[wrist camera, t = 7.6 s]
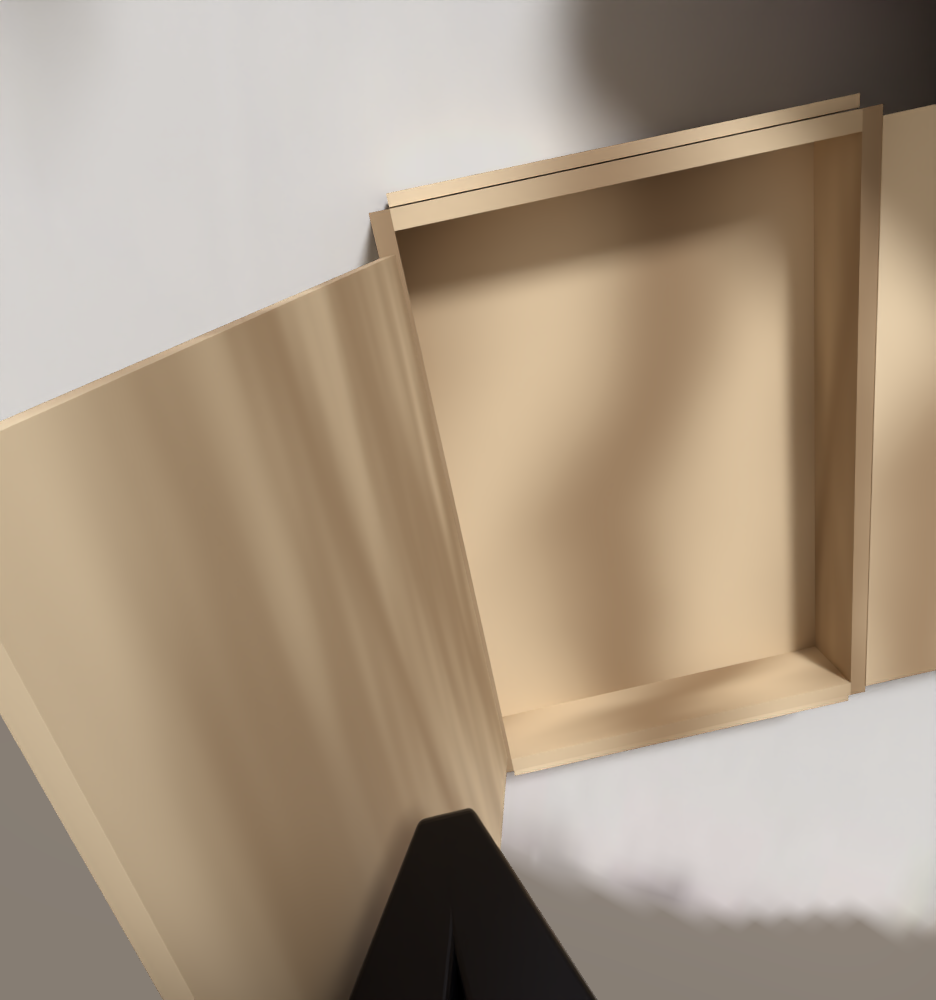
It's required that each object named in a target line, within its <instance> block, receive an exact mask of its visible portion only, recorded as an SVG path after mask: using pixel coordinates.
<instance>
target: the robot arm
mask: <svg viewBox="0 0 936 1000" xmlns="http://www.w3.org/2000/svg"><path fill="white" fill-rule="evenodd" d="M348 1000H597V998H596V997H595V995H594V994H593V992H592V991H591V989H590V987H589V986H588V985H587V983H586V981H585V980H584V978H583V977H582V975H581V974H580V972H579V971H578V969H577V968H576V966H575V964H574V963H573V962H572V960H571V958H570V957H569V955H568V954H567V952H566V951H565V949H564V948H563V946H562V944H561V943H560V941H559V940H558V938H557V937H556V935H555V934H554V932H553V931H552V929H551V927H550V926H549V924H548V923H547V921H546V920H545V918H544V917H543V915H542V914H541V912H540V910H539V909H538V907H537V906H536V905H535V903H534V901H533V900H532V898H531V897H530V895H529V893H528V892H527V890H526V889H525V887H524V886H523V884H522V883H521V881H520V880H519V878H518V876H517V875H516V873H515V872H514V870H513V869H512V867H511V866H510V864H509V863H508V861H507V860H506V858H505V856H504V855H503V853H502V852H501V850H500V849H499V847H498V846H497V844H496V843H495V841H494V839H493V838H492V836H491V835H490V833H489V832H488V830H487V829H486V827H485V826H484V824H483V822H482V821H481V819H480V818H479V816H478V815H477V813H476V812H475V811H474V810H473V809H471V808H466V809H462V810H457V811H453V812H449V813H445V814H441V815H436V816H432V817H428V818H424V819H422V820H421V821H420V822H419V823H418V825H417V827H416V829H415V832H414V834H413V837H412V839H411V842H410V844H409V847H408V849H407V852H406V855H405V857H404V860H403V862H402V865H401V867H400V870H399V872H398V875H397V877H396V880H395V882H394V885H393V888H392V890H391V893H390V895H389V898H388V900H387V903H386V905H385V908H384V910H383V913H382V915H381V918H380V921H379V923H378V926H377V928H376V931H375V933H374V936H373V938H372V941H371V943H370V946H369V948H368V951H367V954H366V956H365V959H364V961H363V964H362V966H361V969H360V971H359V974H358V976H357V979H356V981H355V984H354V987H353V989H352V992H351V994H350V997H349V999H348Z"/></svg>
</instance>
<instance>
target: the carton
mask: <svg viewBox="0 0 936 1000" xmlns="http://www.w3.org/2000/svg"><path fill="white" fill-rule="evenodd" d="M858 107H860V93H858V94H853V95H848V96H843V97H839V98H834V99H829V100H825V101H820V102H815V103H811V104H806V105H801V106H796V107H792V108H787V109H782V110H778V111H773V112H768V113H763V114H759V115H754V116H749V117H745V118H740V119H735V120H730V121H726V122H721V123H716V124H712V125H707V126H702V127H698V128H693V129H688V130H683V131H679V132H674V133H669V134H665V135H660V136H655V137H650V138H646V139H641V140H636V141H632V142H627V143H622V144H617V145H613V146H608V147H603V148H599V149H594V150H589V151H585V152H580V153H575V154H570V155H566V156H561V157H556V158H552V159H547V160H542V161H537V162H533V163H528V164H523V165H519V166H514V167H509V168H504V169H500V170H495V171H490V172H486V173H481V174H476V175H472V176H467V177H462V178H457V179H453V180H448V181H443V182H439V183H434V184H429V185H424V186H420V187H415V188H410V189H406V190H401V191H396V192H391V193H387V194H386V195H387V199H388V204H389V208H391V209H386V210H382V211H377V212H372V213H369V216H370V221H371V225H372V229H373V234H374V238H375V242H376V247H377V251H378V255H379V259H380V258H382V257H386V256H391V255H395V256H396V261H397V265H398V270H399V274H400V279H401V283H402V288H403V292H404V297H405V301H406V305H407V310H408V314H409V319H410V323H411V328H412V332H413V337H414V341H415V346H416V350H417V355H418V359H419V364H420V368H421V372H422V377H423V381H424V386H425V390H426V395H427V399H428V404H429V408H430V413H431V417H432V422H433V426H434V431H435V435H436V439H437V444H438V448H439V453H440V457H441V462H442V466H443V471H444V475H445V480H446V484H447V489H448V493H449V498H450V502H451V506H452V511H453V515H454V520H455V524H456V529H457V533H458V538H459V542H460V547H461V551H462V556H463V560H464V565H465V569H466V574H467V578H468V582H469V587H470V591H471V596H472V600H473V605H474V609H475V614H476V618H477V623H478V627H479V632H480V636H481V641H482V645H483V649H484V654H485V658H486V663H487V667H488V672H489V676H490V681H491V685H492V690H493V694H494V699H495V703H496V708H497V712H498V716H499V721H500V725H501V730H502V734H503V739H504V743H505V748H506V752H507V757H508V759H507V771H506V773H507V772H511V771H514V773H515V776H516V775H521V774H525V773H529V772H534V771H538V770H543V769H547V768H552V767H556V766H560V765H565V764H570V763H574V762H578V761H583V760H587V759H592V758H596V757H601V756H605V755H609V754H614V753H618V752H623V751H627V750H632V749H636V748H640V747H645V746H649V745H654V744H658V743H663V742H667V741H671V740H676V739H680V738H685V737H689V736H693V735H698V734H702V733H706V732H711V731H715V730H720V729H724V728H729V727H733V726H737V725H742V724H746V723H751V722H755V721H759V720H764V719H768V718H773V717H777V716H782V715H786V714H790V713H795V712H799V711H804V710H808V709H813V708H817V707H821V706H826V705H830V704H835V703H839V702H844V701H848V695H852V694H856V693H861V692H865V686H868V685H872V684H877V683H881V682H885V681H890V680H894V679H899V678H903V677H908V676H912V675H916V674H921V673H925V672H930V671H934V670H936V104H934V105H930V106H925V107H920V108H916V109H911V110H906V111H902V112H897V113H892V114H887V115H883V104H880V105H875V106H870V107H866V108H861V109H856V110H852V111H847V112H842V113H838V114H833V113H837V112H841V111H846V110H850V109H854V108H858ZM829 114H833V115H829ZM825 115H828V116H825ZM820 116H823V117H820ZM816 117H819V118H816ZM812 118H814V119H812ZM808 119H809V120H808ZM803 120H805V121H803ZM798 121H800V122H798ZM794 122H795V123H794ZM789 123H791V124H789ZM784 124H786V125H784ZM779 125H781V126H779ZM775 126H776V127H775ZM770 127H772V128H770ZM765 128H767V129H765ZM761 129H762V130H761ZM756 130H758V131H756ZM751 131H753V132H751ZM747 132H748V133H747ZM742 133H744V134H742ZM737 134H739V135H737ZM732 135H734V136H732ZM728 136H729V137H728ZM723 137H725V138H723ZM718 138H720V139H718ZM714 139H715V140H714ZM709 140H711V141H709ZM704 141H706V142H704ZM700 142H701V143H700ZM695 143H697V144H695ZM690 144H692V145H690ZM685 145H687V146H685ZM681 146H682V147H681ZM676 147H678V148H676ZM671 148H673V149H671ZM667 149H668V150H667ZM662 150H664V151H662ZM657 151H659V152H657ZM653 152H654V153H653ZM648 153H650V154H648ZM643 154H645V155H643ZM638 155H640V156H638ZM634 156H635V157H634ZM629 157H631V158H629ZM624 158H626V159H624ZM620 159H621V160H620ZM615 160H617V161H615ZM610 161H612V162H610ZM606 162H607V163H606ZM601 163H603V164H601ZM596 164H598V165H596ZM591 165H593V166H591ZM587 166H588V167H587ZM582 167H584V168H582ZM577 168H579V169H577ZM573 169H574V170H573ZM568 170H570V171H568ZM563 171H565V172H563ZM559 172H560V173H559ZM554 173H556V174H554ZM549 174H551V175H549ZM544 175H546V176H544ZM540 176H541V177H540ZM535 177H537V178H535ZM530 178H532V179H530ZM526 179H527V180H526ZM521 180H523V181H521ZM516 181H518V182H516ZM512 182H513V183H512ZM507 183H509V184H507ZM502 184H504V185H502ZM497 185H499V186H497ZM493 186H494V187H493ZM488 187H490V188H488ZM483 188H485V189H483ZM479 189H480V190H479ZM474 190H476V191H474ZM469 191H471V192H469ZM464 192H466V193H464ZM460 193H462V194H460ZM455 194H457V195H455ZM450 195H452V196H450ZM446 196H447V197H446ZM441 197H443V198H441ZM436 198H438V199H436ZM432 199H433V200H432ZM427 200H429V201H427ZM422 201H424V202H422ZM417 202H419V203H417ZM413 203H415V204H413ZM408 204H410V205H408ZM403 205H405V206H403ZM399 206H400V207H399ZM394 207H396V208H394Z"/></svg>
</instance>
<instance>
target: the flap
mask: <svg viewBox="0 0 936 1000" xmlns="http://www.w3.org/2000/svg"><path fill="white" fill-rule="evenodd" d="M0 714H1V716H2V718H3V720H4V721H5V723H6V725H7V727H8V728H9V730H10V732H11V734H12V735H13V737H14V739H15V741H16V742H17V744H18V746H19V747H20V749H21V751H22V753H23V755H24V757H25V758H26V760H27V762H28V763H29V765H30V767H31V769H32V771H33V772H34V774H35V776H36V778H37V779H38V781H39V783H40V785H41V786H42V788H43V790H44V791H45V793H46V795H47V797H48V799H49V800H50V802H51V804H52V806H53V807H54V809H55V811H56V812H57V814H58V816H59V818H60V819H61V822H62V823H63V825H64V827H65V829H66V830H67V832H68V834H69V836H70V837H71V839H72V841H73V843H74V844H75V846H76V848H77V850H78V851H79V853H80V855H81V857H82V858H83V860H84V862H85V864H86V865H87V867H88V869H89V871H90V872H91V874H92V876H93V878H94V879H95V881H96V883H97V884H98V886H99V888H100V890H101V892H102V893H103V895H104V897H105V899H106V900H107V902H108V904H109V906H110V907H111V909H112V911H113V913H114V914H115V916H116V918H117V919H118V921H119V923H120V925H121V927H122V929H123V930H124V932H125V934H126V936H127V937H128V939H129V941H130V943H131V944H132V946H133V948H134V950H135V951H136V953H137V955H138V957H139V958H140V960H141V962H142V964H143V965H144V967H145V969H146V971H147V972H148V974H149V976H150V978H151V979H152V981H153V983H154V985H155V986H156V988H157V990H158V992H159V993H160V995H161V997H162V999H163V1000H348V999H349V997H350V994H351V992H352V989H353V987H354V984H355V981H356V979H357V976H358V974H359V971H360V969H361V966H362V964H363V961H364V959H365V956H366V954H367V951H368V948H369V946H370V943H371V941H372V938H373V936H374V933H375V931H376V928H377V926H378V923H379V921H380V918H381V915H382V913H383V910H384V908H385V905H386V903H387V900H388V898H389V895H390V893H391V890H392V888H393V885H394V882H395V880H396V877H397V875H398V872H399V870H400V867H401V865H402V862H403V860H404V857H405V855H406V852H407V849H408V847H409V844H410V842H411V839H412V837H413V834H414V832H415V829H416V827H417V825H418V823H419V822H420V821H421V820H422V819H424V818H428V817H432V816H436V815H441V814H445V813H449V812H453V811H457V810H462V809H466V808H471V809H473V810H474V811H475V812H476V813H477V815H478V816H479V818H480V819H481V821H482V822H483V824H484V826H485V827H486V829H487V830H488V832H489V833H490V835H491V836H492V838H493V839H494V841H495V843H496V844H497V846H498V847H499V849H500V848H501V835H502V822H503V809H504V797H505V784H506V771H507V759H508V757H507V752H506V748H505V743H504V739H503V734H502V730H501V725H500V721H499V716H498V712H497V708H496V703H495V699H494V694H493V690H492V685H491V681H490V676H489V672H488V667H487V663H486V658H485V654H484V649H483V645H482V641H481V636H480V632H479V627H478V623H477V618H476V614H475V609H474V605H473V600H472V596H471V591H470V587H469V582H468V578H467V574H466V569H465V565H464V560H463V556H462V551H461V547H460V542H459V538H458V533H457V529H456V524H455V520H454V515H453V511H452V506H451V502H450V498H449V493H448V489H447V484H446V480H445V475H444V471H443V466H442V462H441V457H440V453H439V448H438V444H437V439H436V435H435V431H434V426H433V422H432V417H431V413H430V408H429V404H428V399H427V395H426V390H425V386H424V381H423V377H422V372H421V368H420V364H419V359H418V355H417V350H416V346H415V341H414V337H413V332H412V328H411V323H410V319H409V314H408V310H407V305H406V301H405V297H404V292H403V288H402V283H401V279H400V274H399V270H398V265H397V261H396V256H395V255H391V256H386V257H382V258H380V259H377V260H375V261H373V262H371V263H368V264H366V265H364V266H361V267H359V268H357V269H354V270H352V271H350V272H347V273H345V274H343V275H340V276H338V277H336V278H333V279H331V280H329V281H326V282H324V283H322V284H319V285H317V286H315V287H312V288H310V289H308V290H305V291H303V292H301V293H298V294H296V295H294V296H291V297H289V298H287V299H284V300H282V301H280V302H277V303H275V304H273V305H270V306H268V307H266V308H263V309H261V310H259V311H256V312H254V313H252V314H249V315H247V316H245V317H242V318H240V319H238V320H235V321H233V322H231V323H228V324H226V325H224V326H221V327H219V328H217V329H214V330H212V331H210V332H207V333H205V334H203V335H201V336H198V337H196V338H194V339H191V340H189V341H187V342H184V343H182V344H180V345H177V346H175V347H173V348H170V349H168V350H166V351H163V352H161V353H159V354H156V355H154V356H152V357H149V358H147V359H145V360H142V361H140V362H138V363H135V364H133V365H131V366H128V367H126V368H124V369H121V370H119V371H117V372H114V373H112V374H110V375H107V376H105V377H103V378H100V379H98V380H96V381H93V382H91V383H89V384H86V385H84V386H82V387H79V388H77V389H75V390H72V391H70V392H68V393H65V394H63V395H61V396H58V397H56V398H54V399H51V400H49V401H47V402H44V403H42V404H40V405H37V406H35V407H33V408H30V409H28V410H26V411H24V412H21V413H19V414H17V415H14V416H12V417H10V418H7V419H5V420H3V421H0Z"/></svg>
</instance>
